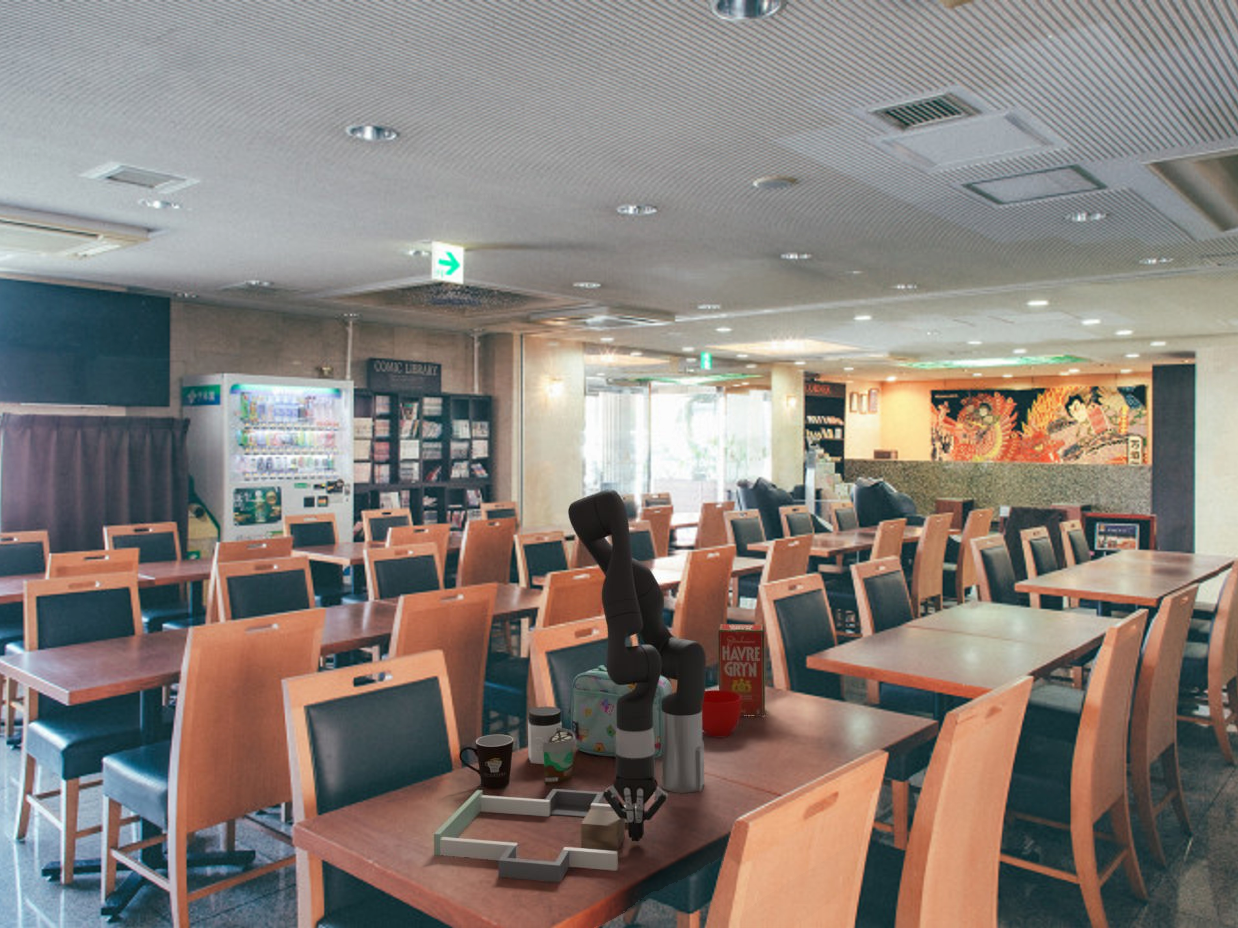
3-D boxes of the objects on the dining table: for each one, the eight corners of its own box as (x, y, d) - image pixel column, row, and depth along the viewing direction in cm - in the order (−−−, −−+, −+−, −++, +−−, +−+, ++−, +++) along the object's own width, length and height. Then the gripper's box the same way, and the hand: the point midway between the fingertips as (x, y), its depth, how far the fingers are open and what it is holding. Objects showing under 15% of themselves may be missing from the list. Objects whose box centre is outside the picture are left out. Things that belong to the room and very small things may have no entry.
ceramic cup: (688, 722, 250) (687, 687, 250) (747, 728, 243) (746, 692, 243) (673, 736, 238) (672, 698, 238) (734, 743, 231) (734, 704, 231)
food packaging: (718, 715, 256) (717, 628, 256) (720, 706, 265) (719, 622, 265) (765, 717, 254) (764, 629, 254) (765, 708, 263) (764, 623, 263)
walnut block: (624, 836, 176) (624, 811, 175) (617, 852, 169) (616, 826, 169) (590, 834, 177) (590, 809, 177) (581, 849, 170) (581, 823, 170)
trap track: (644, 808, 189) (644, 790, 189) (608, 886, 155) (608, 863, 155) (487, 797, 196) (487, 779, 196) (420, 869, 162) (419, 847, 162)
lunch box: (563, 753, 225) (562, 668, 225) (580, 740, 235) (579, 659, 235) (663, 765, 215) (662, 677, 215) (676, 752, 225) (675, 667, 225)
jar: (522, 762, 219) (521, 713, 218) (535, 752, 226) (534, 705, 226) (556, 766, 216) (555, 716, 216) (568, 755, 224) (567, 707, 224)
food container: (569, 788, 201) (568, 744, 201) (543, 786, 202) (542, 743, 202) (582, 769, 213) (582, 728, 213) (557, 768, 214) (557, 726, 214)
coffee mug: (520, 779, 207) (519, 736, 207) (503, 792, 199) (503, 747, 199) (475, 773, 211) (475, 731, 211) (457, 786, 203) (457, 742, 203)
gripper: (671, 745, 174) (672, 833, 174) (605, 741, 176) (606, 829, 176) (666, 758, 166) (667, 850, 166) (597, 754, 169) (598, 845, 169)
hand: (636, 839), depth 171 cm, fingers closed
